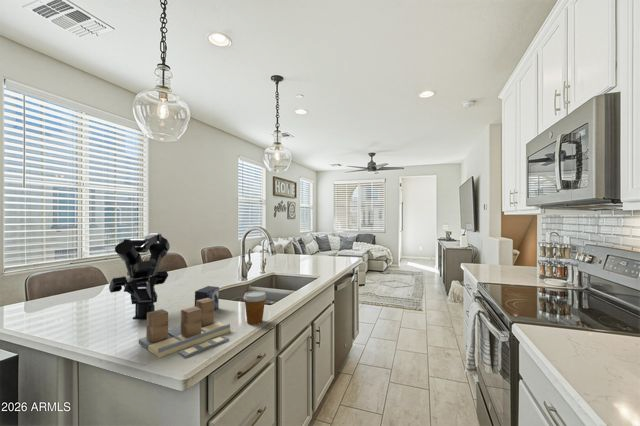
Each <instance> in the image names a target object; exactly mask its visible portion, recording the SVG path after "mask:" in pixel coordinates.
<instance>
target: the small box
mask: <svg viewBox="0 0 640 426" xmlns="http://www.w3.org/2000/svg"><path fill="white" fill-rule="evenodd" d="M219 292H220V287H219V286H212V285H211V286H210V285H207V286H205V287H201V288H200V289H197V290H194V306H195V307H196V301H197V300H201V299H205V298H210V299H213V300H215V302H214V311H215V310H217V309H219V305H220V302H219V299H220V298H219V297H220V293H219Z"/></svg>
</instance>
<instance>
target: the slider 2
mask: <svg viewBox="0 0 640 426" xmlns="http://www.w3.org/2000/svg"><path fill="white" fill-rule="evenodd" d="M214 302H215V300H213V299H210V298H205V299H201V300H197V301H196V307H198V308H200V309H202V315H201V326H205V325H208V324H211V323H214V321H215V310H214Z"/></svg>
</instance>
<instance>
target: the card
mask: <svg viewBox="0 0 640 426" xmlns="http://www.w3.org/2000/svg"><path fill="white" fill-rule="evenodd" d="M226 341H227V342H229V341H230V338H228V337H226V336H224V335H219V336H216V337H213V338H211V339H208V340H205V341H203V342H200V343H197V344H195V345H192V346H189V347H187V348H184V349H181V350H179V351H178V355H180V356H181V357H183V358H185V359H187V358H189V357H191V356H194V355H197V354H199V353H202V352H204V351H207V350H209V349H211V348H214V347H216V346H219V345H221V343H222V344H224V343H226Z"/></svg>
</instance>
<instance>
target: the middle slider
mask: <svg viewBox="0 0 640 426" xmlns="http://www.w3.org/2000/svg"><path fill="white" fill-rule="evenodd" d="M201 315H202V309H200V308H198V307H195V305H194V306H190V307H186V308H182V309H180V326H181V335H182V336H184V337H186V338H189V337H192V336H195V335H198V334H201Z"/></svg>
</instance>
